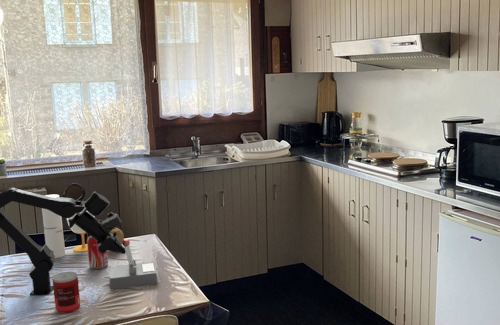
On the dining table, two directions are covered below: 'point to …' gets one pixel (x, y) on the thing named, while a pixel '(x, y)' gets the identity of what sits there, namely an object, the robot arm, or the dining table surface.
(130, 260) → the switch lever
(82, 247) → the cup
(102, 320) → the dining table surface
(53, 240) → the cylindrical container
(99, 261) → the soda can
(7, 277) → the dining table surface
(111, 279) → the switch box
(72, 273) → the canned food
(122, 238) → the natural sponge
